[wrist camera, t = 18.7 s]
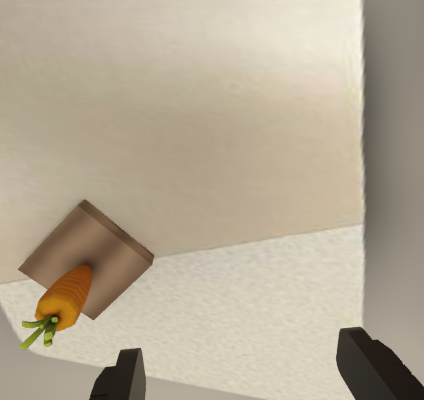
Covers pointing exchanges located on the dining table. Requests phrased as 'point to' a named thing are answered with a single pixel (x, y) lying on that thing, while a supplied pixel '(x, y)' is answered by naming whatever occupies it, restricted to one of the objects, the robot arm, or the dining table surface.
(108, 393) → the robot arm
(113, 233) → the walnut plinth
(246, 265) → the dining table surface
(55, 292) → the carrot
